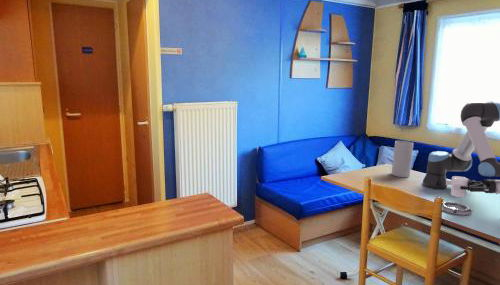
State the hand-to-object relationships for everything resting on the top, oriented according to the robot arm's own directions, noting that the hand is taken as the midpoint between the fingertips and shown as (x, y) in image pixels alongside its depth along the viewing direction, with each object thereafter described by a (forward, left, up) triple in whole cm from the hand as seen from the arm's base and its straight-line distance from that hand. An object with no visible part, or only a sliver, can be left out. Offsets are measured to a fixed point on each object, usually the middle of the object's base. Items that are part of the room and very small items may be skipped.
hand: (450, 184), depth 198 cm
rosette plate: (+3, +4, -15) cm, 16 cm away
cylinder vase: (-53, +42, -15) cm, 69 cm away
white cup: (+3, +4, -6) cm, 8 cm away
